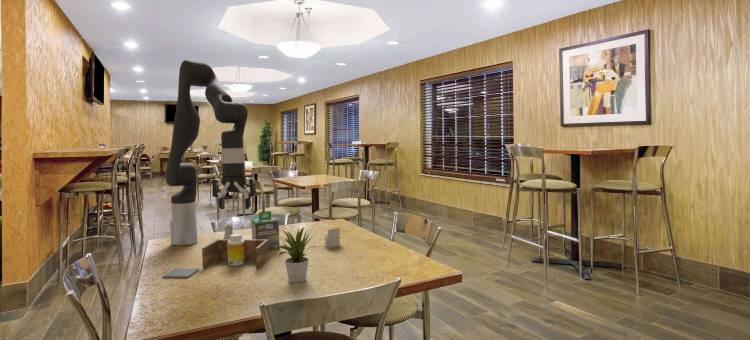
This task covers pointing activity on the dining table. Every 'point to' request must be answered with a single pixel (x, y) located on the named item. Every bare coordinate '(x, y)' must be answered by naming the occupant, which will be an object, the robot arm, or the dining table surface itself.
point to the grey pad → (181, 273)
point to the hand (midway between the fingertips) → (234, 209)
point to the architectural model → (332, 238)
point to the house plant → (296, 256)
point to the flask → (228, 232)
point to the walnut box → (220, 251)
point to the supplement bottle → (236, 250)
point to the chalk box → (266, 229)
